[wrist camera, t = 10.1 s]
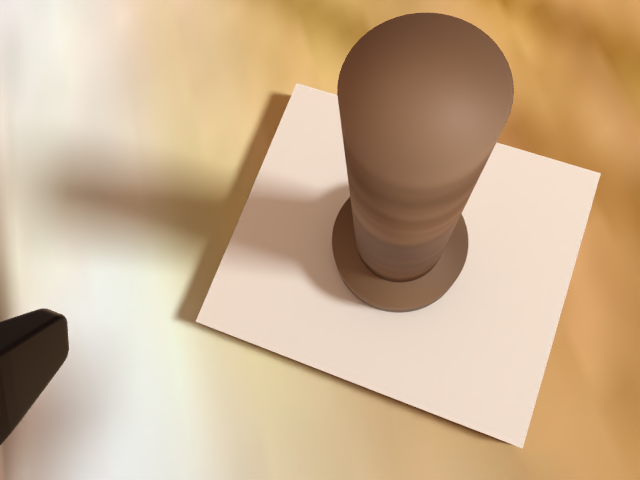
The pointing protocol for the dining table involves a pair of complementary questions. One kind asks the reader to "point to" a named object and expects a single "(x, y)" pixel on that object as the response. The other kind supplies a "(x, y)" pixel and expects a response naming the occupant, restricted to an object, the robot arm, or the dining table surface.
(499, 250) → the tile
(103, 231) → the dining table surface
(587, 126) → the dining table surface
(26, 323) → the robot arm
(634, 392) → the dining table surface
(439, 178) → the tamper
